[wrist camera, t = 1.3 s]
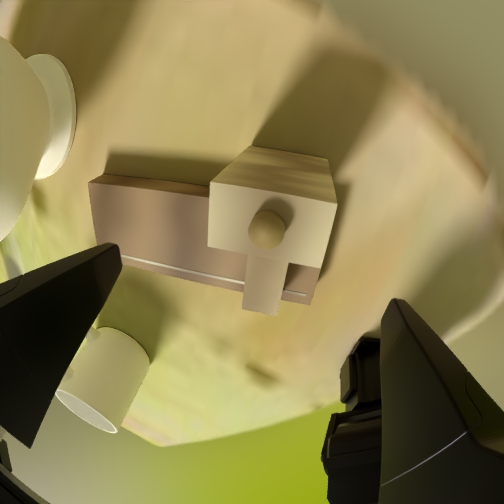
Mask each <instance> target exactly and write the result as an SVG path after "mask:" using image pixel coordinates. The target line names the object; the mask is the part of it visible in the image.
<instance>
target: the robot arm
mask: <svg viewBox="0 0 504 504" xmlns="http://www.w3.org/2000/svg"><path fill="white" fill-rule="evenodd" d="M121 270H122V260H121V254H120V248H119V246H118V245H117V244H114V243H110V242H107V243H104V244H101V245H98V246H95V247H93V248H90V249H87V250H84V251H82V252H79V253H76V254H74V255H71V256H68V257H66V258H63V259H60V260H58V261H55V262H53V263H50V264H47V265H45V266H42V267H40V268H37V269H35V270H32V271H30V272H28V273H25V274H24V275H20V276H18V277H15V278H13V279H11V280H8V281H6V282H3V283H0V504H50V503H48V502H47V501H46V500H44V499H43V498H42V497H40V496H39V495H38V494H36V493H35V492H34V491H32V490H31V489H30V488H29V487H27V486H26V485H25V484H24V483H22V482H21V481H20V480H19V479H18V478H16V477H15V476H14V475H13V474H12V473H11V472H12V467H11V463H10V458H9V454H8V448H7V443H6V441H5V440H4V439H3V437H4V435H5V433H6V431H7V432H8V433H10V434H11V435H12V436H13V437H15V438H16V439H17V440H18V441H20V442H21V443H22V444H24V445H25V446H26V447H27V448H29V449H30V448H31V446H32V444H33V442H34V439H35V437H36V435H37V432H38V430H39V428H40V425H41V423H42V421H43V419H44V416H45V414H46V412H47V410H48V408H49V405H50V403H51V400H52V399H53V397H54V395H55V393H56V391H57V389H58V387H59V385H60V383H61V381H62V379H63V377H64V375H65V373H66V371H67V369H68V367H69V365H70V363H71V362H72V360H73V358H74V356H75V354H76V352H77V351H78V349H79V347H80V345H81V343H82V342H83V340H84V338H85V336H86V335H87V333H88V331H89V329H90V328H91V326H92V324H93V323H94V321H95V319H96V318H97V316H98V314H99V313H100V311H101V309H102V308H103V306H104V304H105V302H106V300H107V298H108V296H109V294H110V292H111V290H112V288H113V286H114V284H115V282H116V280H117V278H118V276H119V274H120V272H121ZM364 342H365V343H364ZM340 379H341V399H340V401H341V402H342V403H344V404H346V412H342V413H334V414H332V415H331V419H330V421H329V425H328V430H327V433H326V437H325V441H324V445H323V449H322V452H321V455H322V456H321V461H322V462H323V466H324V470H325V472H326V474H327V475H328V491H327V499H328V501H329V503H330V504H504V411H503V410H502V409H501V408H500V407H499V406H498V405H497V404H496V402H494V400H493V399H492V398H491V397H490V396H489V395H488V394H487V392H486V391H485V390H484V389H483V388H482V387H481V385H480V384H479V383H478V382H477V381H476V380H475V378H474V377H473V376H472V375H471V373H470V372H467V369H466V367H465V366H464V365H463V364H462V363H461V362H460V360H459V359H458V358H457V357H456V356H455V355H454V354H453V352H452V351H451V350H450V349H449V348H448V347H447V345H446V344H445V343H444V342H443V341H442V340H441V339H440V338H439V336H438V335H437V334H436V333H435V332H434V331H433V330H432V329H431V328H430V327H429V325H428V324H427V323H426V322H425V321H424V320H423V319H422V318H421V317H420V316H419V315H418V314H417V313H416V312H415V310H414V309H413V308H412V307H411V306H410V305H409V304H408V303H407V302H406V301H405V300H403V299H397V298H393V299H391V301H390V302H389V305H388V307H387V309H386V311H385V313H384V315H383V317H382V320H381V340H380V339H372V338H361V339H359V340H358V342H357V344H356V346H355V348H354V350H353V352H352V353H351V354H350V355H348V357H347V359H346V361H345V362H344V364H343V366H342V368H341V373H340Z"/></svg>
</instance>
